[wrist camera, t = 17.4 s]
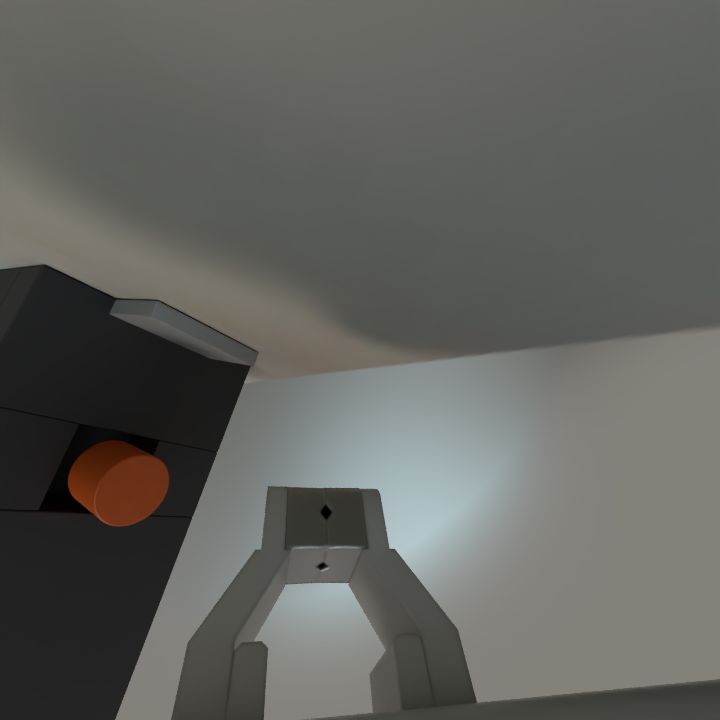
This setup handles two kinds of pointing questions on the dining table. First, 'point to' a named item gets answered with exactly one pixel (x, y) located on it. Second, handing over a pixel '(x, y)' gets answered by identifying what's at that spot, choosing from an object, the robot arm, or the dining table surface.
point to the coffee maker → (52, 467)
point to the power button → (118, 482)
